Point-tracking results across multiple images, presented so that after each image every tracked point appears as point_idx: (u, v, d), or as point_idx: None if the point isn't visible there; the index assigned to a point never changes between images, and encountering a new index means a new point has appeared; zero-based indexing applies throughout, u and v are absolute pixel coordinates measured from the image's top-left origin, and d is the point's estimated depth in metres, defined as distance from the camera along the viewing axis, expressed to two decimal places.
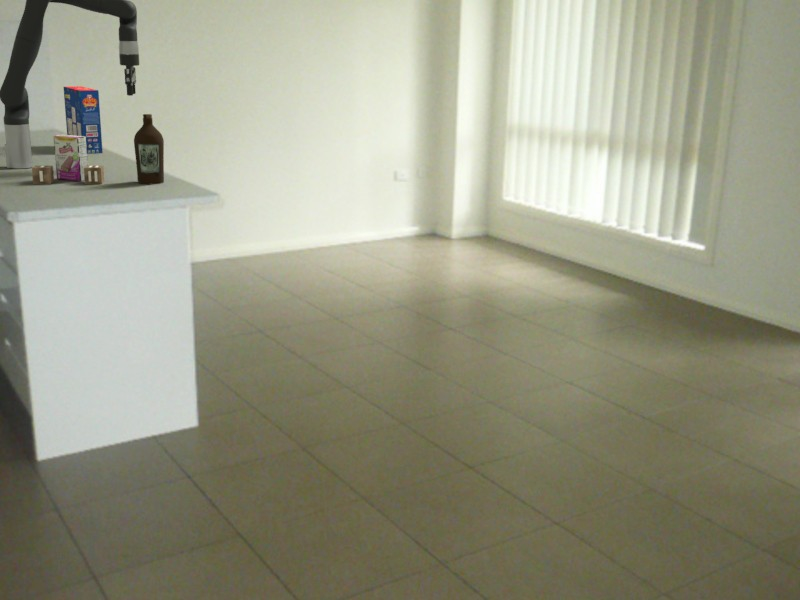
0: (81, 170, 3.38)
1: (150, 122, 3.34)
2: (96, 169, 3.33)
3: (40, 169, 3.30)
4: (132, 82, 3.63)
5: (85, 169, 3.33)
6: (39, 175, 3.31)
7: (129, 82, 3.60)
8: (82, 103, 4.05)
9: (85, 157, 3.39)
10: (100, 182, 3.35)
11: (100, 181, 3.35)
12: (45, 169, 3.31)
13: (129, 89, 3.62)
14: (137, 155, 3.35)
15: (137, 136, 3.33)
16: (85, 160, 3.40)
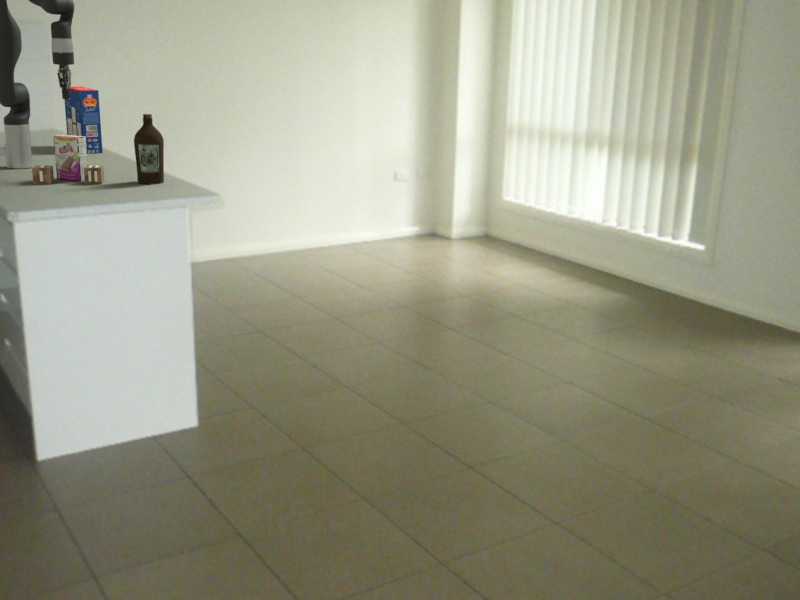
0: (81, 170, 3.38)
1: (150, 122, 3.34)
2: (96, 169, 3.33)
3: (40, 169, 3.30)
4: (67, 84, 3.41)
5: (85, 169, 3.33)
6: (39, 175, 3.31)
7: (64, 85, 3.38)
8: (82, 103, 4.05)
9: (85, 157, 3.39)
10: (100, 182, 3.35)
11: (100, 181, 3.35)
12: (45, 169, 3.31)
13: (64, 92, 3.41)
14: (137, 155, 3.35)
15: (137, 136, 3.33)
16: (85, 160, 3.40)
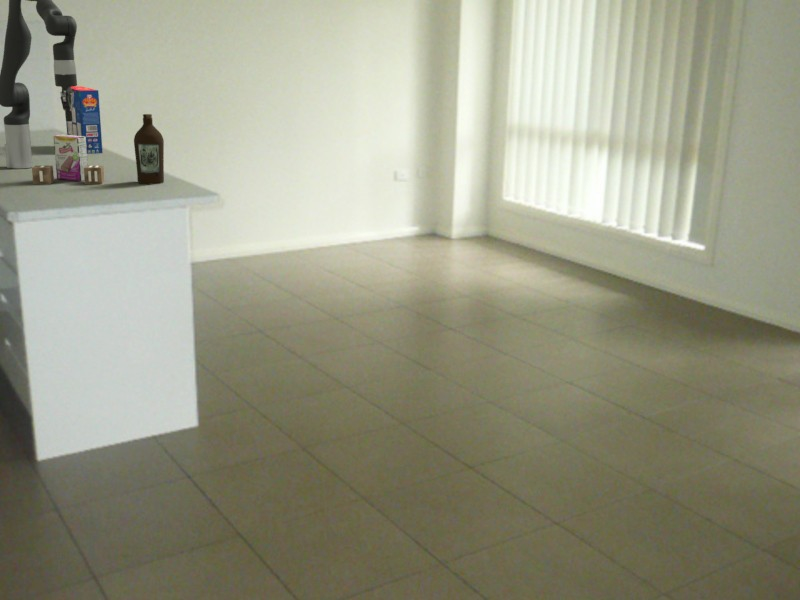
0: (81, 170, 3.38)
1: (150, 122, 3.34)
2: (96, 169, 3.33)
3: (40, 169, 3.30)
4: (71, 106, 3.35)
5: (85, 169, 3.33)
6: (39, 175, 3.31)
7: (67, 107, 3.33)
8: (82, 103, 4.05)
9: (85, 157, 3.39)
10: (100, 182, 3.35)
11: (100, 181, 3.35)
12: (45, 169, 3.31)
13: (68, 114, 3.35)
14: (137, 155, 3.35)
15: (137, 136, 3.33)
16: (85, 160, 3.40)
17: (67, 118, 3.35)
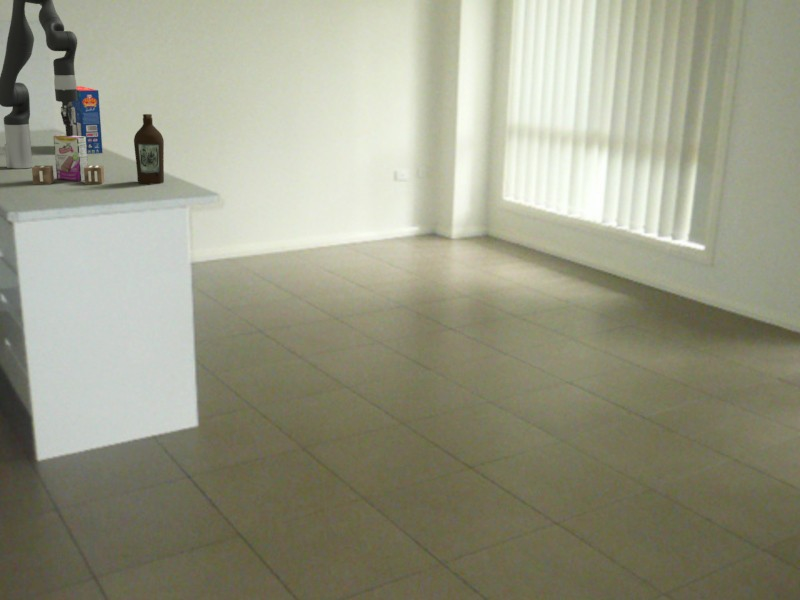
0: (81, 170, 3.38)
1: (150, 122, 3.34)
2: (96, 169, 3.33)
3: (40, 169, 3.30)
4: (71, 121, 3.36)
5: (85, 169, 3.33)
6: (39, 175, 3.31)
7: (68, 122, 3.34)
8: (82, 103, 4.05)
9: (85, 157, 3.39)
10: (100, 182, 3.35)
11: (100, 181, 3.35)
12: (45, 169, 3.31)
13: (68, 129, 3.36)
14: (137, 155, 3.35)
15: (137, 136, 3.33)
16: (85, 160, 3.40)
17: (67, 133, 3.37)
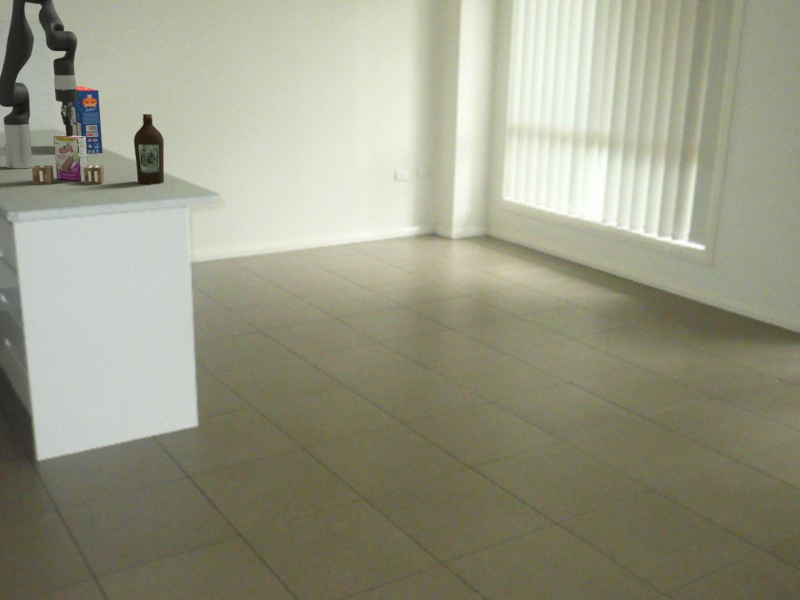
0: (80, 170, 3.38)
1: (150, 122, 3.34)
2: (96, 169, 3.33)
3: (40, 169, 3.30)
4: (71, 121, 3.36)
5: (85, 169, 3.33)
6: (39, 175, 3.31)
7: (68, 122, 3.34)
8: (82, 103, 4.05)
9: (85, 157, 3.39)
10: (100, 182, 3.35)
11: (100, 181, 3.35)
12: (45, 169, 3.31)
13: (68, 129, 3.36)
14: (137, 155, 3.35)
15: (137, 136, 3.33)
16: (85, 160, 3.40)
17: (67, 133, 3.37)
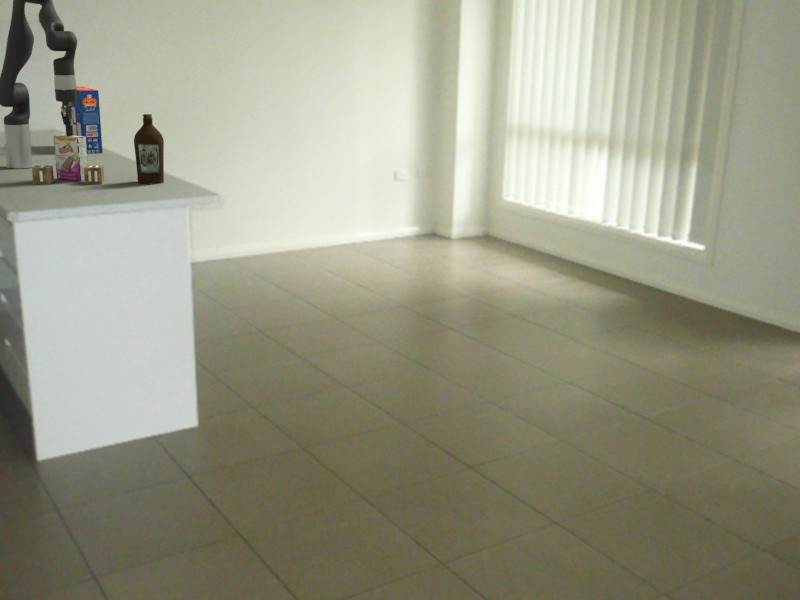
0: (80, 170, 3.38)
1: (150, 122, 3.34)
2: (96, 169, 3.33)
3: (40, 169, 3.30)
4: (71, 121, 3.36)
5: (85, 169, 3.33)
6: (39, 175, 3.31)
7: (68, 122, 3.34)
8: (82, 103, 4.05)
9: (85, 157, 3.39)
10: (100, 182, 3.35)
11: (100, 181, 3.35)
12: (45, 169, 3.31)
13: (68, 129, 3.36)
14: (137, 155, 3.35)
15: (137, 136, 3.33)
16: (85, 160, 3.40)
17: (67, 133, 3.37)
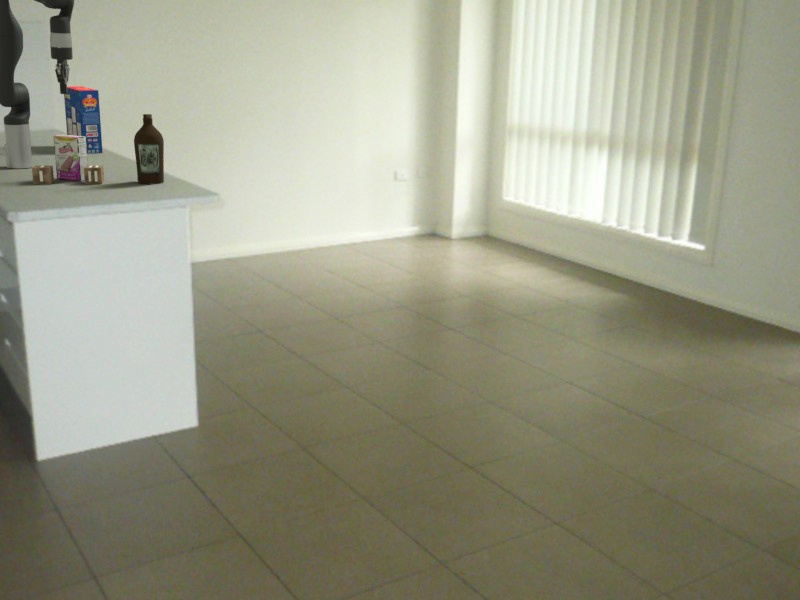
0: (80, 170, 3.38)
1: (150, 122, 3.34)
2: (96, 169, 3.33)
3: (40, 169, 3.30)
4: (65, 79, 3.39)
5: (85, 169, 3.33)
6: (39, 175, 3.31)
7: (62, 80, 3.37)
8: (82, 103, 4.05)
9: (85, 157, 3.39)
10: (100, 182, 3.35)
11: (100, 181, 3.35)
12: (45, 169, 3.31)
13: (62, 87, 3.39)
14: (137, 155, 3.35)
15: (137, 136, 3.33)
16: (85, 160, 3.40)
17: (61, 91, 3.39)
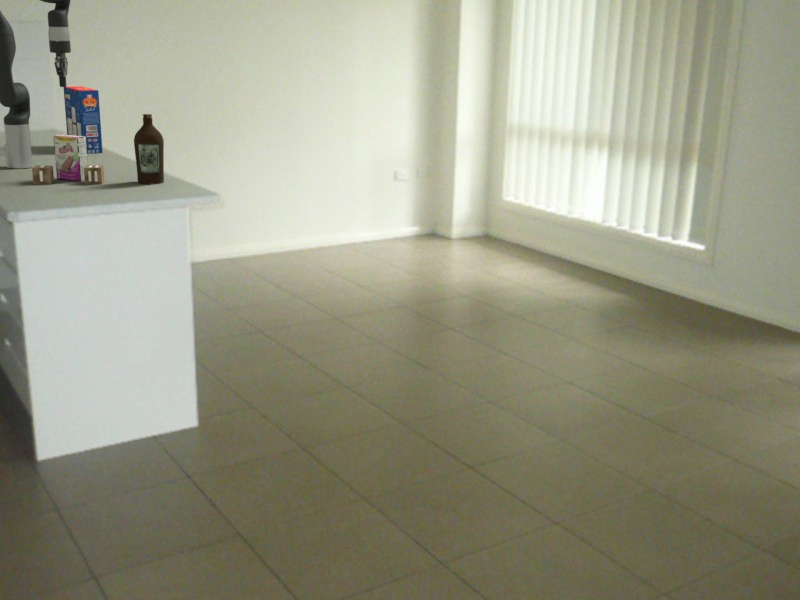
0: (80, 170, 3.38)
1: (150, 122, 3.34)
2: (96, 169, 3.33)
3: (40, 169, 3.30)
4: (64, 72, 3.46)
5: (85, 169, 3.33)
6: (39, 175, 3.31)
7: (61, 73, 3.44)
8: (82, 103, 4.05)
9: (85, 157, 3.39)
10: (100, 182, 3.35)
11: (100, 181, 3.35)
12: (45, 169, 3.31)
13: (62, 80, 3.46)
14: (137, 155, 3.35)
15: (137, 136, 3.33)
16: (85, 160, 3.40)
17: (61, 84, 3.46)
